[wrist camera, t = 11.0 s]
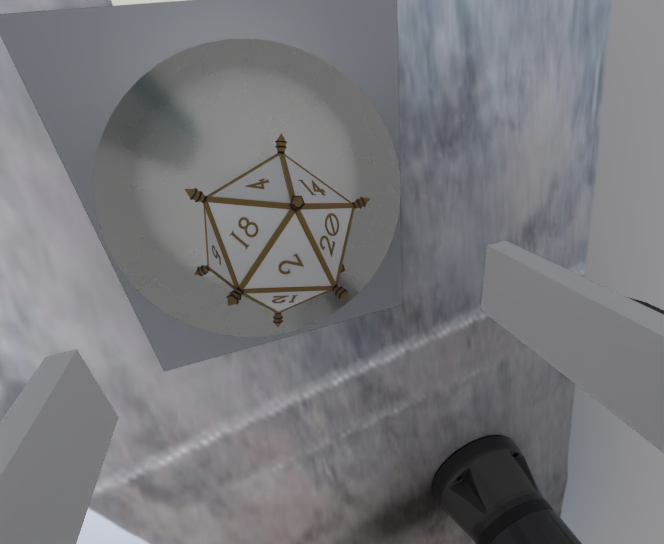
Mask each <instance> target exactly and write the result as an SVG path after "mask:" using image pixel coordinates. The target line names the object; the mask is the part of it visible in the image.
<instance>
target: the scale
mask: <svg viewBox="0 0 664 544" xmlns="http://www.w3.org/2000/svg"><path fill="white" fill-rule="evenodd" d="M111 1H112V4H113V6H105V7H91V8H78V9H64V10H50V11H36V12H23V13H9V14H0V36H1V38H2V40H3V42H4V44H5V46H6V48H7V50H8V52H9V54H10V56H11V58H12V60H13V62H14V64H15V66H16V68H17V71H18V73H19V75H20V77H21V79H22V81H23V83H24V85H25V87H26V89H27V91H28V93H29V95H30V97H31V99H32V101H33V103H34V105H35V108H36V110H37V112H38V114H39V116H40V118H41V120H42V122H43V124H44V126H45V128H46V130H47V132H48V134H49V136H50V138H51V140H52V142H53V144H54V147H55V149H56V151H57V153H58V155H59V157H60V159H61V161H62V163H63V165H64V167H65V169H66V171H67V173H68V175H69V177H70V179H71V181H72V184H73V186H74V188H75V190H76V192H77V194H78V196H79V198H80V200H81V202H82V204H83V206H84V208H85V210H86V212H87V214H88V216H89V218H90V221H91V223H92V225H93V227H94V229H95V231H96V233H97V235H98V237H99V239H100V241H101V243H102V245H103V247H104V249H105V251H106V253H107V255H108V258H109V260H110V262H111V264H112V266H113V268H114V270H115V272H116V274H117V276H118V278H119V280H120V282H121V284H122V286H123V288H124V290H125V292H126V294H127V297H128V299H129V301H130V303H131V305H132V307H133V309H134V311H135V313H136V315H137V317H138V319H139V321H140V323H141V325H142V327H143V329H144V331H145V334H146V336H147V338H148V340H149V342H150V344H151V346H152V348H153V350H154V352H155V354H156V356H157V358H158V360H159V362H160V364H161V366H162V368H163V371H168V370H171V369H175V368H178V367H182V366H185V365H189V364H193V363H196V362H200V361H203V360H207V359H210V358H214V357H218V356H221V355H225V354H228V353H232V352H235V351H239V350H243V349H246V348H250V347H253V346H257V345H260V344H264V343H268V342H271V341H275V340H278V339H282V338H285V337H289V336H293V335H296V334H300V333H303V332H307V331H310V330H314V329H317V328H321V327H325V326H328V325H332V324H335V323H339V322H342V321H346V320H350V319H353V318H357V317H360V316H364V315H367V314H371V313H375V312H378V311H382V310H385V309H389V308H392V307H396V306H400V305H403V296H402V241H401V199H400V210H399V216H398V222H397V226H396V229H395V233H394V236H393V239H392V242H391V244H390V247H389V249H388V251H387V254H386V255H385V257H384V259H383V261H382V263H381V265H380V266H379V268H378V269H377V271H376V272H375V274H374V275H373V276H372V278H371V279H370V281H369V282H368V283H367V284H366V285H365V286H364V287H363V289H362V290H361V291H360V292H359V293H358V294H357V295H356V296H354V297H353V298H352V299H351V300H350V301H349V302H348V303H347V304H345V305H344V306H342V307H341V308H340V309H338V310H337V311H336V312H334V313H332V314H331V315H329V316H327V317H326V318H324V319H322V320H320V321H318V322H316V323H313V324H311V325H309V326H306V327H303V328H300V329H298V330H295V331H291V332H287V333H282V334H278V335H270V336H261V337H241V336H231V335H224V334H219V333H214V332H209V331H206V330H203V329H200V328H197V327H194V326H191V325H189V324H187V323H185V322H183V321H180V320H178V319H176V318H174V317H173V316H171V315H169V314H168V313H166V312H164V311H163V310H161V309H159V308H158V307H157V306H156V305H154V304H153V303H152V302H151V301H149V300H148V299H147V298H145V297H144V296H143V295H142V294H141V293H140V292H139V291H138V290H137V289H136V288H135V287H134V286H133V285H132V284H131V283H130V281H129V280H128V279H127V277H126V276H125V275H124V273H123V272H122V271H121V270H120V268H119V267H118V265H117V264H116V262H115V260H114V258H113V257H112V255H111V253H110V251H109V249H108V247H107V245H106V242H105V240H104V237H103V235H102V232H101V230H100V226H99V222H98V218H97V214H96V209H95V202H94V189H93V180H94V167H95V160H96V155H97V151H98V147H99V143H100V139H101V137H102V134H103V132H104V130H105V127H106V125H107V123H108V120H109V118H110V116H111V115H112V113H113V112H114V110H115V108H116V107H117V105H118V104H119V102H120V101H121V99H122V97H123V96H124V95H125V94H126V93H127V92H128V91H129V90H130V89H131V87H132V86H133V85H134V84H135V83H136V82H137V81H138V80H139V79H140V78H141V77H142V76H144V75H145V74H146V73H147V72H149V71H150V70H151V69H152V68H154V67H155V66H156V65H158V64H159V63H161V62H163V61H164V60H166V59H168V58H170V57H172V56H174V55H175V54H177V53H179V52H181V51H184V50H187V49H190V48H193V47H195V46H198V45H201V44H204V43H210V42H215V41H221V40H226V39H259V40H267V41H274V42H279V43H282V44H286V45H289V46H293V47H296V48H300V49H302V50H304V51H306V52H308V53H311V54H313V55H315V56H317V57H319V58H321V59H323V60H324V61H326V62H327V63H329V64H331V65H332V66H334V67H335V68H337V69H338V70H340V71H341V72H342V73H343V74H344V75H346V76H347V77H348V78H349V79H350V80H351V81H352V82H354V83H355V84H356V85H357V86H358V87H359V89H360V90H361V91H362V92H363V93H364V94H365V95H366V96H367V98H368V99H369V100H370V101H371V103H372V104H373V106H374V107H375V109H376V110H377V112H378V113H379V115H380V116H381V118H382V120H383V122H384V124H385V126H386V128H387V130H388V132H389V134H390V137H391V140H392V143H393V146H394V149H395V152H396V156H397V161H398V166H399V170H400V132H399V77H398V22H397V0H111Z"/></svg>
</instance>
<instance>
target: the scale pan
mask: <svg viewBox="0 0 664 544" xmlns="http://www.w3.org/2000/svg"><path fill="white" fill-rule="evenodd" d="M281 133H282V135H283V137H284V139H285V141H286V142H287V143H286V147H287V148H286V149H285V155H287V156H288V157H290V158H291V159H292V160H294V161H295V162H296V163H298V164H299V165H301V166H302V167H303V168H305V169H306V170H308V171H309V172H310V173H312V174H313V175H314V176H316V177H317V178H319V179H320V180H321V181H323V182H324V183H325V184H327V185H328V186H330V187H331V188H332V189H334V190H335V191H337V192H338V193H339V194H341V195H342V196H343V197H345V198H346V199H348V200H349V201H350V202H354V201H356V199H359V198H361V197H364V198H370V200H369V201H368V203H367V204H366V207H361V209H360V208H356V209H355V210H354V214H353V219H352V223H351V228H350V232H349V237H348V241H347V246H346V250H345V255H344V259H343V265H344V268H345V271H344V272H342V273H340V277H339V282H338V286H340V287H341V286H342V287H343V288H344V290H345V289H346V290H347V294H348V298H349V300H345V299H338V297H337V296H335V293H334V291H329V292H327V293H325V294H322V295H320V296H318V297H315V298H313V299H311V300H309V301H306V302H304V303H302V304H299V305H297V306H295V307H292V308H290V309H288V310H286V311H283V312H282V313H281V314H282V316H283V318H282V320H283V322H282V323H281V324H280V326H279V327H278V328H277V326H276V325H275V323H273V320H274V319H273V317H274V315H275V312H273V311H271V310H269V309H267V308H265V307H264V306H262V305H260V304H258V303H256V302H254V301H252V300H250V299H248V298H247V297H245V296H243V295H241V300H239V304H234V305H230V306H228V301H227V298H226V297H227V296H228V295H230V294H229V293H230V292H232V291H234V289H232V288H231V287H230V286H229V285H227V284H226V283H225V282H224V281H222V280H221V279H220V278H218V277H217V276H216V275H215V274H213V273H212V272H211V271H209V272H208V273H207V274H206V275H205V274H204V275H203V276H202V277H201V276H199V275H194V273H195V272H196V270H197V267H198V266H199V267H201V265H204V266H206V265H207V251H206V236H205V221H204V206H203V203H202V202H197V203H196V202H195V200H190V197H189V196H188V194H187V193H186V191H185V189H194V188H197V190H198V191H202V192H203V194H204V195H205V196H207V195H209V194H210V193H212V192H214V191H215V190H217V189H219V188H220V187H222V186H224V185H225V184H227V183H229V182H230V181H232V180H234V179H235V178H237V177H239V176H240V175H242V174H244V173H245V172H247V171H249V170H250V169H252V168H254V167H255V166H257V165H259V164H260V163H262V162H264V161H265V160H267V159H269V158H270V157H272V156H274V155H275V154H277V152H278V151H277V148H276V147H275V146H276V142H275V141H277V139H278V138H279V136H280V135H281ZM93 189H94V202H95V209H96V214H97V218H98V222H99V226H100V230H101V232H102V235H103V237H104V240H105V242H106V245H107V247H108V249H109V251H110V253H111V255H112V257H113V258H114V260H115V262H116V264H117V265H118V267H119V268H120V270H121V271H122V272H123V273H124V275H125V276H126V277H127V279H128V280H129V281H130V283H131V284H132V285H133V286H134V287H135V288H136V289H137V290H138V291H139V292H140V293H141V294H142V295H143V296H144V297H145V298H147V299H148V300H149V301H151V302H152V303H153V304H154V305H156V306H157V307H158V308H159V309H161V310H163V311H164V312H166V313H168V314H169V315H171V316H173V317H174V318H176V319H178V320H180V321H183V322H185V323H187V324H189V325H191V326H194V327H197V328H200V329H203V330H206V331H209V332H214V333H219V334H224V335H231V336H241V337H261V336H270V335H278V334H282V333H287V332H291V331H295V330H298V329H300V328H303V327H306V326H309V325H311V324H313V323H316V322H318V321H320V320H322V319H324V318H326V317H327V316H329V315H331V314H332V313H334V312H336V311H337V310H338V309H340V308H341V307H342V306H344V305H345V304H347V303H348V302H349V301H350V300H351V299H352V298H353V297H354V296H356V295H357V294H358V293H359V292H360V291H361V290H362V289H363V287H364V286H365V285H366V284H367V283H368V282H369V281H370V279H371V278H372V276H373V275H374V274H375V272H376V271H377V269H378V268H379V266H380V265H381V263H382V261H383V259H384V257H385V255H386V254H387V251H388V249H389V247H390V244H391V242H392V239H393V236H394V233H395V229H396V226H397V222H398V216H399V210H400V199H401V183H400V170H399V166H398V161H397V156H396V152H395V149H394V146H393V143H392V140H391V137H390V134H389V132H388V130H387V128H386V126H385V124H384V122H383V120H382V118H381V116H380V115H379V113H378V112H377V110H376V109H375V107H374V106H373V104H372V103H371V101H370V100H369V99H368V98H367V96H366V95H365V94H364V93H363V92H362V91H361V90H360V89H359V87H358V86H357V85H356V84H355V83H354V82H352V81H351V80H350V79H349V78H348V77H347V76H346V75H344V74H343V73H342V72H341V71H340V70H338V69H337V68H335V67H334V66H332V65H331V64H329V63H327V62H326V61H324V60H323V59H321V58H319V57H317V56H315V55H313V54H311V53H308V52H306V51H304V50H302V49H300V48H296V47H293V46H289V45H286V44H282V43H279V42H274V41H267V40H259V39H226V40H221V41H215V42H210V43H204V44H201V45H198V46H195V47H193V48H190V49H187V50H184V51H181V52H179V53H177V54H175V55H174V56H172V57H170V58H168V59H166V60H164V61H163V62H161V63H159V64H158V65H156V66H155V67H154V68H152V69H151V70H150V71H149V72H147V73H146V74H145V75H144V76H142V77H141V78H140V79H139V80H138V81H137V82H136V83H135V84H134V85H133V86H132V87H131V89H130V90H129V91H128V92H127V93H126V94H125V95H124V96H123V97H122V99H121V101H120V102H119V104H118V105H117V107H116V108H115V110H114V112H113V113H112V115H111V116H110V118H109V120H108V123H107V125H106V127H105V130H104V132H103V134H102V137H101V139H100V143H99V147H98V151H97V155H96V160H95V167H94V180H93Z"/></svg>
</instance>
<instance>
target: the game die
mask: <svg viewBox="0 0 664 544" xmlns="http://www.w3.org/2000/svg"><path fill="white" fill-rule="evenodd" d="M275 142H276V146H275V147H276V148H277V151H278V152H277V154H275V155H274V156H272V157H270V158H269V159H267V160H265V161H264V162H262V163H260V164H259V165H257V166H255V167H254V168H252V169H250V170H249V171H247V172H245V173H244V174H242V175H240V176H239V177H237V178H235V179H234V180H232V181H230V182H229V183H227V184H225V185H224V186H222V187H220V188H219V189H217V190H215V191H214V192H212V193H210V194H209V195H207V196H205V195H204V194H203V192H202V191H198V190H197V188H194V189H185V191H186V193H187V194H188V196H189V197H190V200H195V202H196V203H197V202H202V203H203V206H204V221H205V236H206V251H207V265H206V266H204V265H201V267H199V266H198V267H197V270H196V272H195V273H194V275H199V276H201V277H202V276H203V275H204V274H205V275H206V274H207V273H208V272H209V271H211V272H212V273H213V274H215V275H216V276H217V277H218V278H220V279H221V280H222V281H224V282H225V283H226V284H227V285H229V286H230V287H231V288H232V289H234V291H232V292H230V293H229V294H230V295H228V296H227V297H226V298H227V301H228V306H230V305H234V304H239V300H241V295H243V296H245V297H247V298H248V299H250V300H252V301H254V302H256V303H258V304H260V305H262V306H264V307H265V308H267V309H269V310H271V311H273V312H275V315H274V317H273V319H274V320H273V323H275V325H276V326H277V328H278V327H279V326H280V324H281V323H282V322H283V320H282V318H283V316H282V314H281V313H282V312H283V311H286V310H288V309H290V308H292V307H295V306H297V305H299V304H302V303H304V302H306V301H309V300H311V299H313V298H315V297H318V296H320V295H322V294H325V293H327V292H329V291H334V293H335V296H337V297H338V299H345V300H349V298H348V294H347V290H346V289H345V290H344V288H343V287H342V286H341V287H340V286H338V282H339V277H340V273H342V272H344V271H345V268H344V265H343V259H344V255H345V250H346V246H347V241H348V237H349V232H350V228H351V223H352V219H353V214H354V210H355V209H356V208H360V209H361V207H366V204H367V203H368V201H369V200H370V198H364V197H361V198H359V199H356V201H354V202H350V201H349V200H348V199H346V198H345V197H343V196H342V195H341V194H339V193H338V192H337V191H335V190H334V189H332V188H331V187H330V186H328V185H327V184H325V183H324V182H323V181H321V180H320V179H319V178H317V177H316V176H314V175H313V174H312V173H310V172H309V171H308V170H306V169H305V168H303V167H302V166H301V165H299V164H298V163H296V162H295V161H294V160H292V159H291V158H290V157H288V156H287V155H285V149H286V148H287V147H286V143H287V142H286V141H285V139H284V137H283V135H282V133H281V135H280V136H279V138H278V139H277V141H275Z"/></svg>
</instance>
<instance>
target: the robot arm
mask: <svg viewBox="0 0 664 544" xmlns="http://www.w3.org/2000/svg"><path fill="white" fill-rule="evenodd" d="M481 311H483V312H484V313H485V314H487V315H488V316H489V317H490V318H492V319H493V320H494V321H496V322H497V323H498V324H499V325H501V326H502V327H503V328H504V329H506V330H507V331H508V332H510V333H511V334H512V335H513V336H515V337H516V338H517V339H519V340H520V341H521V342H522V343H524V344H525V345H526V346H527V347H529V348H530V349H531V350H533V351H534V352H535V353H536V354H538V355H539V356H540V357H542V358H543V359H544V360H545V361H547V362H548V363H549V364H550V365H552V366H553V367H554V368H556V369H557V370H558V371H559V372H561V373H562V374H563V375H565V376H566V377H567V378H568V379H570V380H571V381H572V382H573V383H575V384H576V385H577V386H579V387H580V388H581V389H582V390H584V391H585V392H586V393H588V394H589V395H590V396H591V397H593V398H594V399H595V400H597V401H598V402H599V403H601V404H602V405H603V406H604V407H605V408H607V409H608V410H609V411H611V412H612V413H613V414H615V415H616V416H617V417H618V418H619V419H621V420H622V421H623V422H625V423H626V424H627V425H628V426H630V427H631V428H632V429H634V430H635V431H636V432H637V433H639V434H640V435H641V436H642V437H644V438H645V439H646V440H648V441H649V442H650V443H651V444H653V445H654V446H655V447H657V448H658V449H659V450H660V451H662V452H663V453H664V311H663V310H661V309H659V308H657V307H654V306H652V305H650V304H648V303H645V302H642V301H638V300H635V299H632V298H628V297H625V296H623V295H621V294H618V293H617V292H615V291H612V290H610V289H608V288H606V287H604V286H601V285H600V284H597V283H595V282H593V281H591V280H589V279H587V278H585V277H583V276H580V275H578V274H576V273H574V272H572V271H570V270H568V269H566V268H563V267H561V266H559V265H557V264H555V263H553V262H551V261H548V260H546V259H544V258H542V257H540V256H538V255H536V254H534V253H531V252H529V251H527V250H525V249H523V248H521V247H519V246H516V245H514V244H512V243H510V242H508V241H502V242H498V243H494V244H490V245H487V253H486V263H485V273H484V282H483V292H482V301H481ZM117 420H118V416H117V414H116V412H115V411H114V409H113V407H112V406H111V404H110V403H109V401H108V399H107V398H106V396H105V394H104V393H103V391H102V390H101V388H100V386H99V385H98V383H97V381H96V380H95V378H94V377H93V375H92V373H91V372H90V370H89V368H88V367H87V365H86V364H85V362H84V360H83V359H82V357H81V355H80V354H79V352H78V351H77V350H73V351H69V352H65V353H61V354H57V355H53V356H49V357H46V358H45V359H44V361H43V362H42V363H41V365H40V366H39V368H38V369H37V370H36V372H35V373H34V375H33V376H32V378H31V379H30V380H29V382H28V383H27V385H26V386H25V387H24V389H23V390H22V392H21V393H20V394H19V396H18V397H17V399H16V400H15V402H14V403H13V404H12V406H11V407H10V409H9V410H8V411H7V413H6V414H5V416H4V417H3V419H2V420H1V421H0V544H76V542H77V539H78V536H79V533H80V530H81V527H82V524H83V521H84V518H85V515H86V512H87V509H88V506H89V503H90V500H91V497H92V494H93V491H94V488H95V485H96V482H97V479H98V476H99V473H100V470H101V467H102V464H103V461H104V458H105V455H106V453H107V450H108V447H109V444H110V441H111V438H112V435H113V432H114V429H115V426H116V423H117ZM433 492H434V494H435V496H436V498H437V500H438V502H439V503H440V505H441V507H442V508H443V509H444V510H445V511H446V512H447V513H448V514H449V515H450V516H451V518H452V519H453V520H454V521H455V522H456V523H457V524H458V525H459V526H460V527H461V528H462V529H463V530H464V531H465V532H466V533H467V534H468V535H469V536H470V537H471V538H472V539H473V540H474V542H475V543H476V544H581V542H580V541H579V540H578V539H577V537H576V536H575V535H574V534H573V532H572V531H571V530H570V529H569V528H568V526H567V525H566V524H565V523H564V522H563V520H562V519H561V518H560V517H559V516H558V514H557V513H556V512H555V511H554V510H553V508H552V507H551V506H550V505H549V503H548V502H547V501H546V500H545V498H544V497H543V496H542V494H541V492H540V490H539V488H538V486H537V484H536V482H535V480H534V477H533V475H532V473H531V471H530V469H529V467H528V465H527V463H526V460H525V458H524V456H523V454H522V453H521V451H520V450H519V449H518V448H517V447H516V445H515V444H514V443H513V442H512V441H511V440H510V439H509V438H507V437H504V436H491V437H486V438H483V439H480V440H477V441H475V442H473V443H471V444H469V445H467V446H465V447H464V448H462V449H461V450H459V451H458V452H456V453H455V454H454V455H453V456H451V457H450V458H449V459H448V460H447V461H446V462H445V463H444V464H443V466H442V467H441V468H440V469H439V471H438V472H437V474H436V476H435V478H434V481H433Z"/></svg>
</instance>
